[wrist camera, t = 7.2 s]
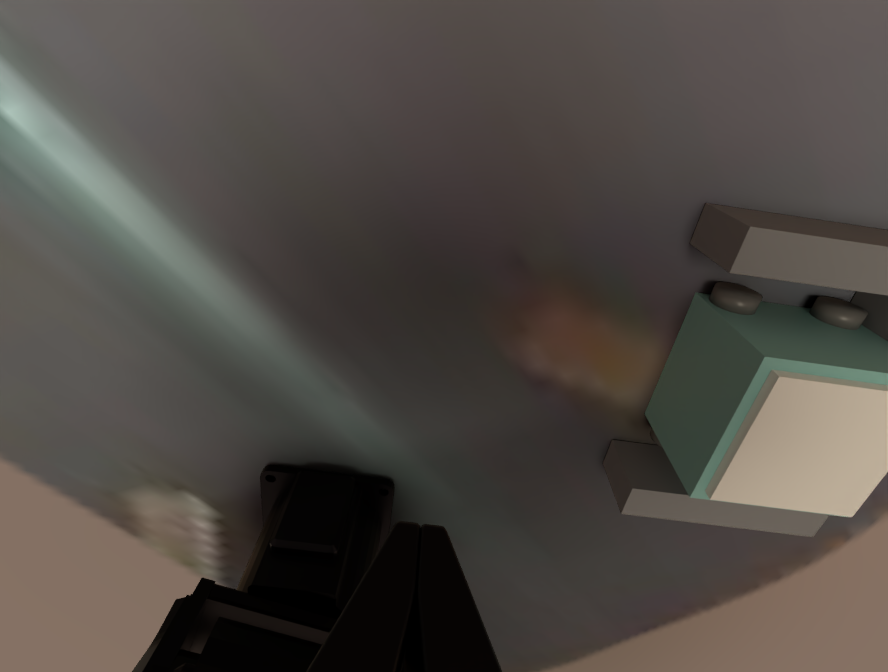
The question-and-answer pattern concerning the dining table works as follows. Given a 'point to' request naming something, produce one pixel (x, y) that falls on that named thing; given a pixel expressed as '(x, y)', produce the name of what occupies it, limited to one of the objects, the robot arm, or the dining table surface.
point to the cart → (774, 403)
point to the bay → (775, 257)
